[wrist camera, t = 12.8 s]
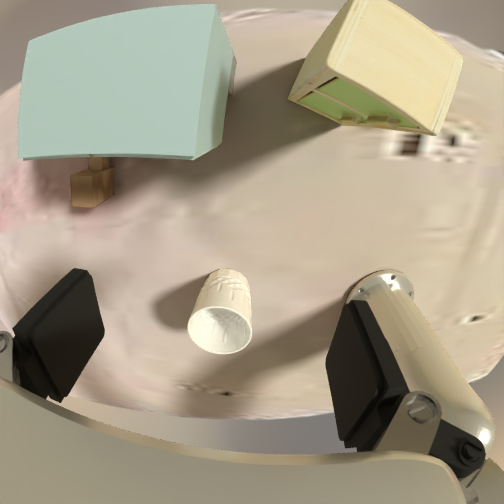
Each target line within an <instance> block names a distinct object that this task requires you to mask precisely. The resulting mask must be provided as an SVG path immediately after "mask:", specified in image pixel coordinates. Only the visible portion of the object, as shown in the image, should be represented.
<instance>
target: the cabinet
mask: <svg viewBox="0 0 504 504" xmlns="http://www.w3.org/2000/svg"><path fill="white" fill-rule="evenodd" d="M235 68H236V59H235V56H234V53H233V50H232V47H231V44H230V41H229V38H228V36H227V33H226V30H225V27H224V25H223V22H222V19H221V16H220V14H219V11H218V8H217V6H216V4H197V5H196V4H195V5H176V6H164V7H156V8H147V9H140V10H134V11H128V12H123V13H117V14H113V15H108V16H104V17H99V18H95V19H91V20H88V21H84V22H81V23H78V24H74V25H71V26H68V27H65V28H62V29H59V30H56V31H53V32H50V33H48V34H45V35H43V36H40V37H38V38H35V39H33V40H31V41H29V43H28V48H27V53H26V58H25V63H24V70H23V77H22V83H21V91H20V101H19V115H18V158H23V161H24V160H36V159H51V158H72V157H91V156H93V157H146V158H169V159H186V160H194V159H196V158H198V157H200V156H201V155H203V154H205V153H207V152H209V151H210V150H212V149H214V148H216V147H218V146H219V144H221V143H222V137H223V128H224V119H225V111H226V103H227V95H228V94H231V95H232V90H233V83H234V75H235Z"/></svg>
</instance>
